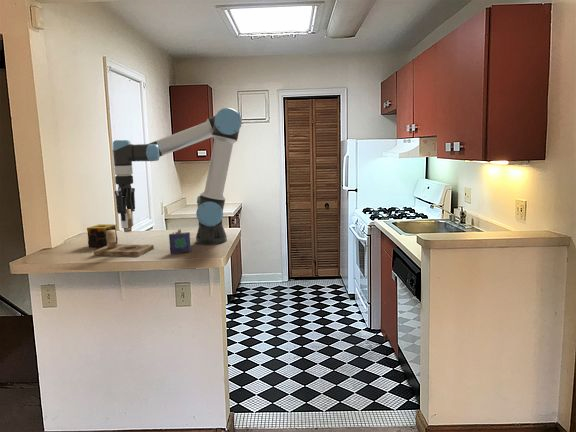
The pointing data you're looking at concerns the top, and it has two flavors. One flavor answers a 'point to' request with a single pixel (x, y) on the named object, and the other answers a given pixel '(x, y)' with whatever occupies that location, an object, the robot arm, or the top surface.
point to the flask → (179, 242)
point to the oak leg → (128, 221)
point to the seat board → (121, 247)
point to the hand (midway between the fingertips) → (127, 226)
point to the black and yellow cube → (99, 235)
